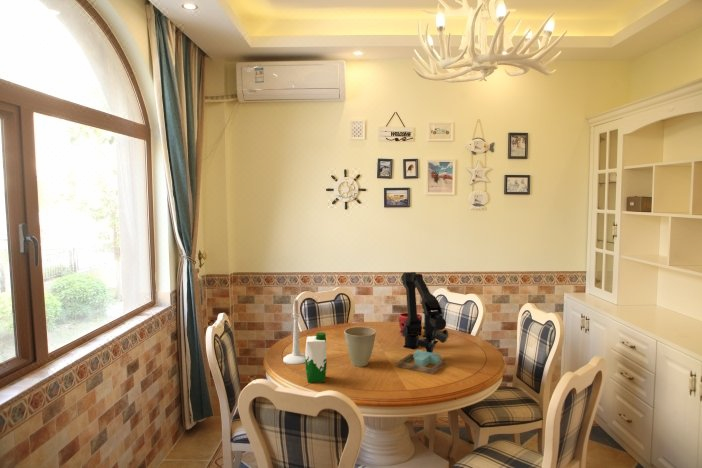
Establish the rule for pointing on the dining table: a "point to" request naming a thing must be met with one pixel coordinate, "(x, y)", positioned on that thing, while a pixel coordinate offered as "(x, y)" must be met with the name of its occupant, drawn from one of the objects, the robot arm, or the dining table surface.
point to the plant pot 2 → (403, 319)
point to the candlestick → (295, 342)
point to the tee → (426, 358)
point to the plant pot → (360, 344)
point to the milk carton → (316, 358)
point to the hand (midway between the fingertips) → (430, 356)
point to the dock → (406, 365)
